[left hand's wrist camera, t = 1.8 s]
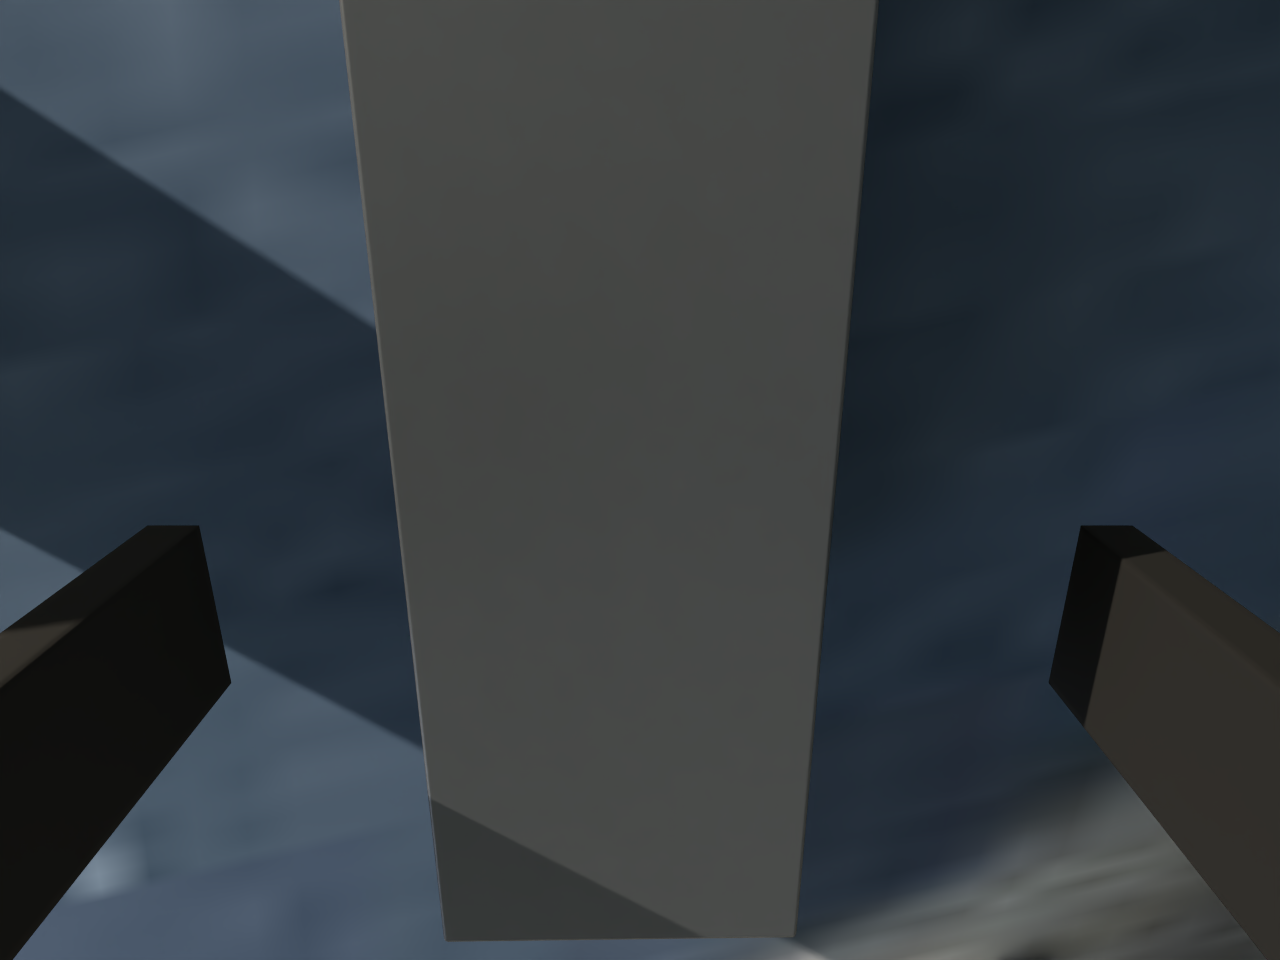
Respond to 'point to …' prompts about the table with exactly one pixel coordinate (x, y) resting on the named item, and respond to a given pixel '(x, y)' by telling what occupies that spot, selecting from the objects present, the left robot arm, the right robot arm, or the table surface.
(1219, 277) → the table surface
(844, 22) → the bar
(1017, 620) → the table surface
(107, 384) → the table surface
